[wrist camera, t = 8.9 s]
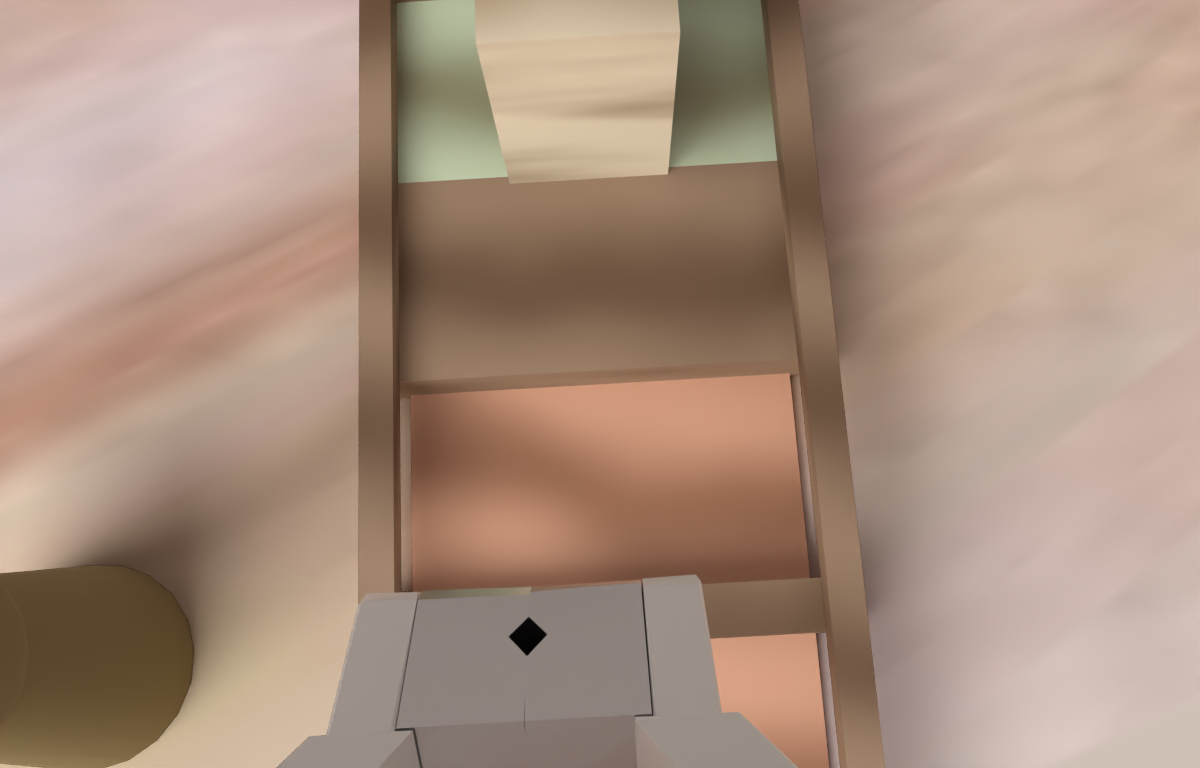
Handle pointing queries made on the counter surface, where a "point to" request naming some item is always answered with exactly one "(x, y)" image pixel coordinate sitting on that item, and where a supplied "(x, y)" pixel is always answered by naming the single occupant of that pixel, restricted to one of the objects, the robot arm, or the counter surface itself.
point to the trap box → (615, 358)
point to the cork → (88, 665)
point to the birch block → (580, 85)
